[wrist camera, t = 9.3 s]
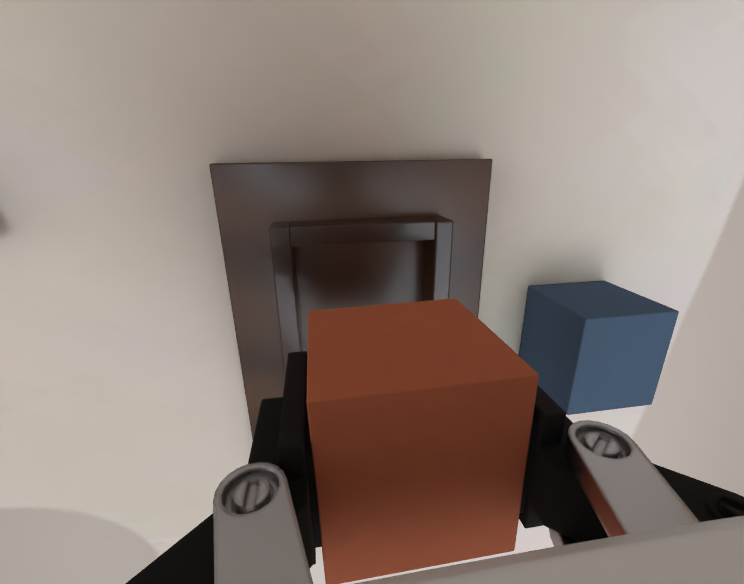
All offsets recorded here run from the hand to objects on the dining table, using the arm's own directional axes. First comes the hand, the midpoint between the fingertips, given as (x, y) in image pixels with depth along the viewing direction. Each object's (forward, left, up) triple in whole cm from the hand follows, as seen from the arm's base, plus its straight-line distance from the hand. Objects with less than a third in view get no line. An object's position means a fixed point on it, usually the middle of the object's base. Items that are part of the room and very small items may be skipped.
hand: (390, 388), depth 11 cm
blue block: (+2, +12, -8) cm, 14 cm away
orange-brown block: (0, 0, -1) cm, 1 cm away
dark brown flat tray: (+3, 0, -8) cm, 9 cm away
